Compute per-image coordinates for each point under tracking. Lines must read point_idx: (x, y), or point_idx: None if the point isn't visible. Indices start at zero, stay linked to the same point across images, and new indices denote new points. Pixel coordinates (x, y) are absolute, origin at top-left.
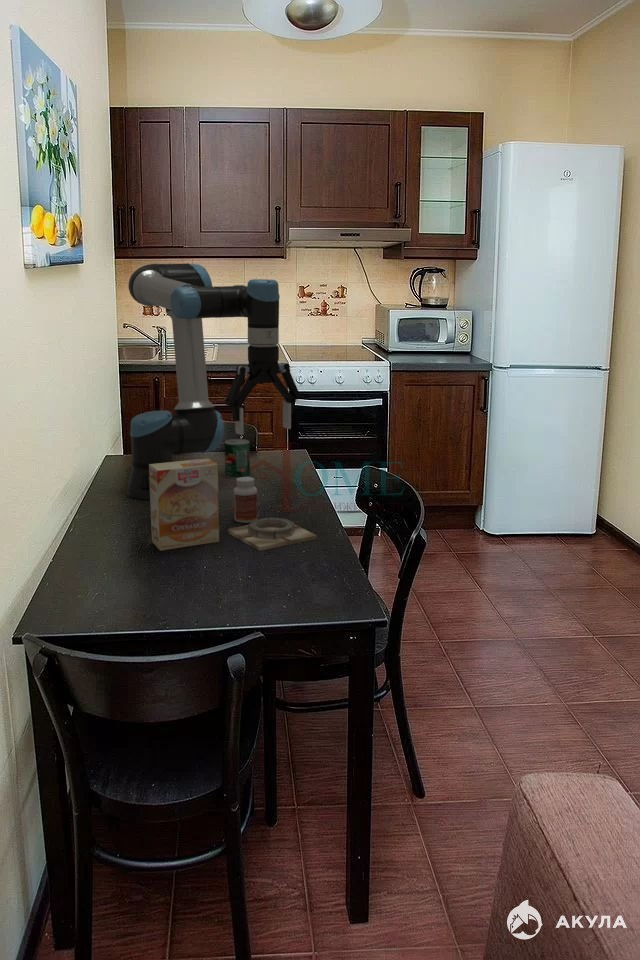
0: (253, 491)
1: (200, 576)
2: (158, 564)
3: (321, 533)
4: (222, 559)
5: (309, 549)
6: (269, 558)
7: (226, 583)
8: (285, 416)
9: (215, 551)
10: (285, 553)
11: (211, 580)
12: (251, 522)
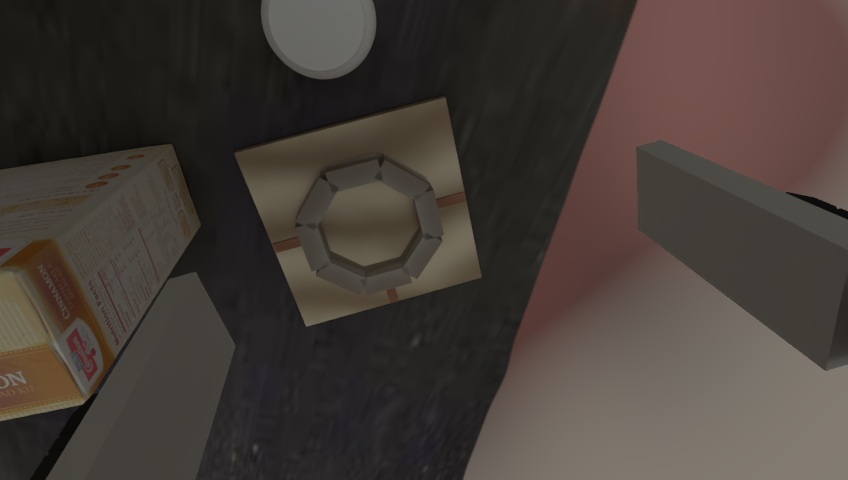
0: (349, 70)
1: None
2: None
3: (510, 231)
4: None
5: (432, 333)
6: (321, 367)
7: (200, 471)
8: (704, 230)
9: None
10: (368, 346)
11: None
12: (311, 196)
